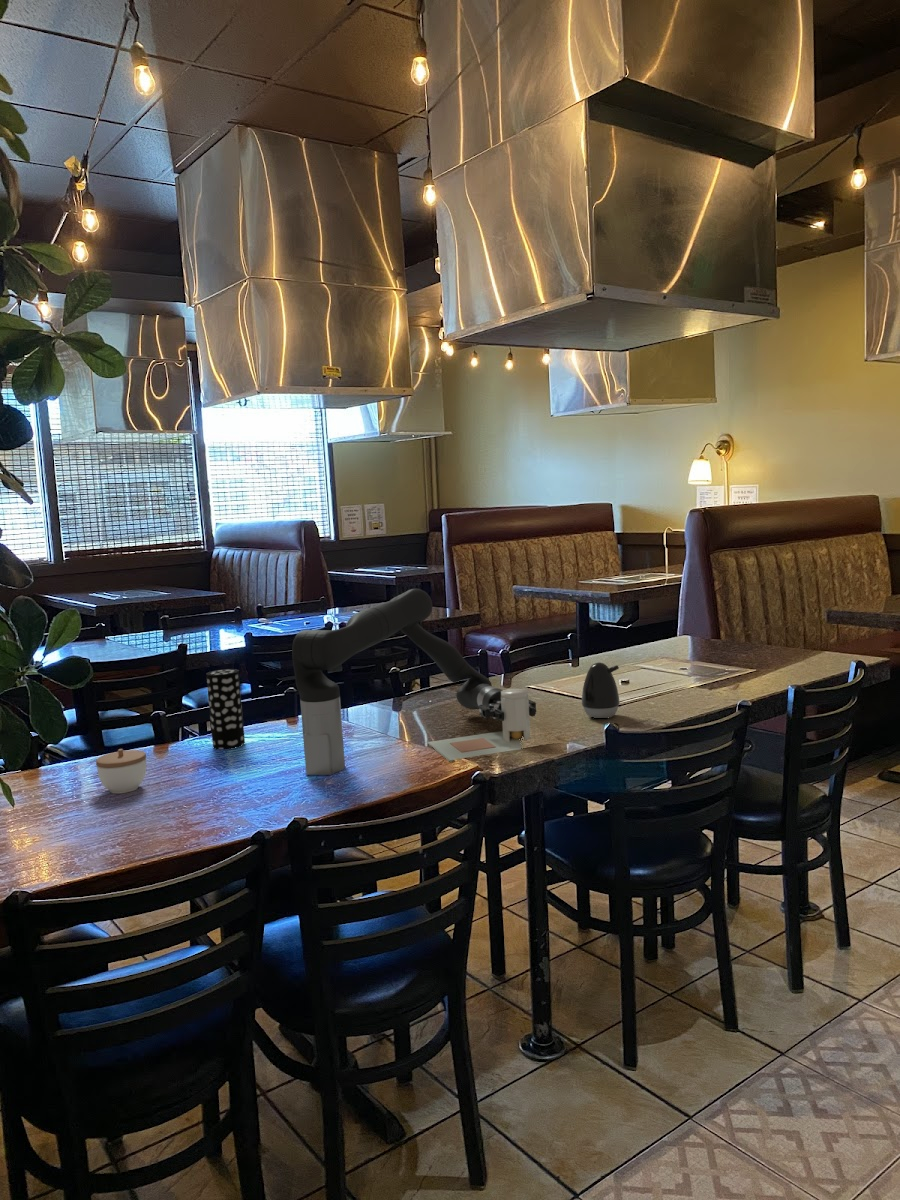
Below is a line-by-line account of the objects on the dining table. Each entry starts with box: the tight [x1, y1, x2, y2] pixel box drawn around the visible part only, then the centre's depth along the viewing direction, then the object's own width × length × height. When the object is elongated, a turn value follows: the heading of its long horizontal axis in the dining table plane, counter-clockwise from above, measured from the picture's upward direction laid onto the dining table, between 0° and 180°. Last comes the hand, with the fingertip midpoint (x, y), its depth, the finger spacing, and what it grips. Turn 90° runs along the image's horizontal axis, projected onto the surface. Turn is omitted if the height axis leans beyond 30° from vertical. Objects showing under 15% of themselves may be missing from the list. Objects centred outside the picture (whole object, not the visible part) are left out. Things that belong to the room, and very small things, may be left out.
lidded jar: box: [95, 748, 147, 795], centre depth 199 cm, size 11×11×9 cm
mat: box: [427, 730, 524, 763], centre depth 219 cm, size 30×18×1 cm, turn 108°
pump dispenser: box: [581, 662, 620, 719], centre depth 238 cm, size 10×10×15 cm
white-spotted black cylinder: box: [206, 668, 246, 750], centre depth 232 cm, size 8×8×20 cm
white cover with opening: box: [501, 688, 531, 742], centre depth 220 cm, size 7×7×12 cm
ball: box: [511, 731, 523, 739], centre depth 220 cm, size 3×3×3 cm
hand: (518, 714), depth 218 cm, fingers open, 8 cm apart
